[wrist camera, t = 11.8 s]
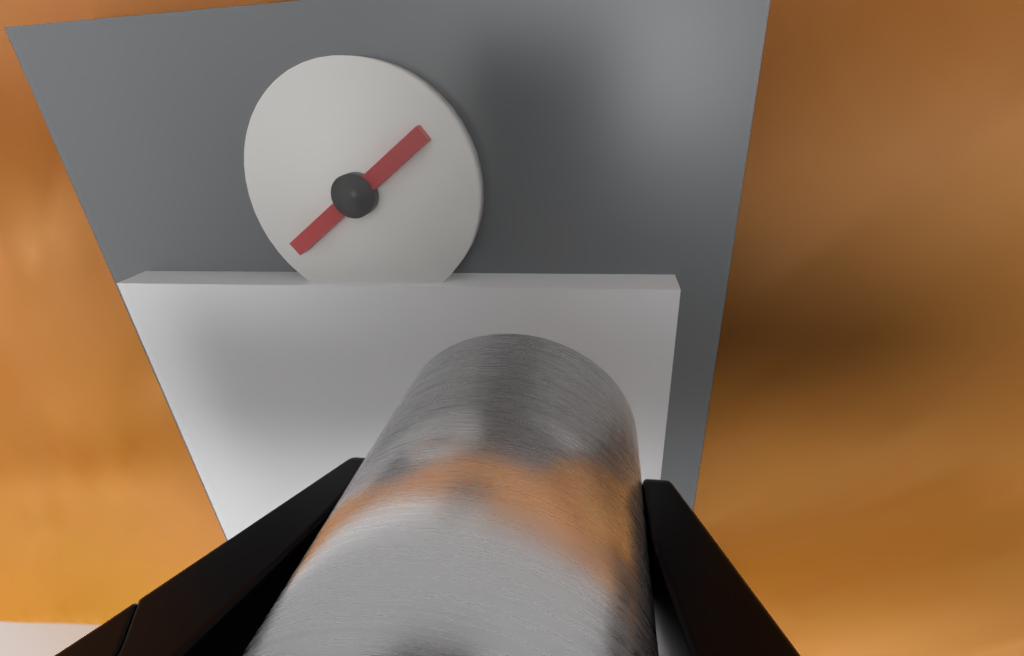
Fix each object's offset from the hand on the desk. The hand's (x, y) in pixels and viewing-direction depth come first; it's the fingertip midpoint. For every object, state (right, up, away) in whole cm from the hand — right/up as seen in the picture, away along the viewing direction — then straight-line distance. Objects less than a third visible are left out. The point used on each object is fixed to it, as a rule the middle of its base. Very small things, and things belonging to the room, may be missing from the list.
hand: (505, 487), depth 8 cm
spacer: (0, +1, +1) cm, 1 cm away
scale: (-2, +1, +6) cm, 7 cm away
